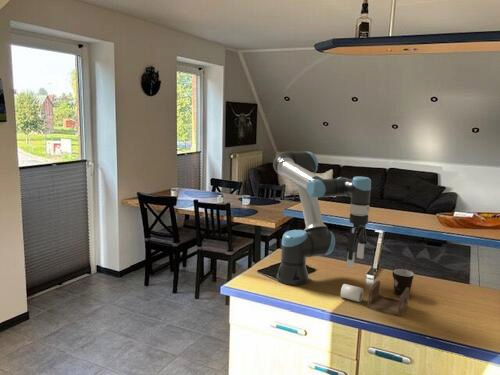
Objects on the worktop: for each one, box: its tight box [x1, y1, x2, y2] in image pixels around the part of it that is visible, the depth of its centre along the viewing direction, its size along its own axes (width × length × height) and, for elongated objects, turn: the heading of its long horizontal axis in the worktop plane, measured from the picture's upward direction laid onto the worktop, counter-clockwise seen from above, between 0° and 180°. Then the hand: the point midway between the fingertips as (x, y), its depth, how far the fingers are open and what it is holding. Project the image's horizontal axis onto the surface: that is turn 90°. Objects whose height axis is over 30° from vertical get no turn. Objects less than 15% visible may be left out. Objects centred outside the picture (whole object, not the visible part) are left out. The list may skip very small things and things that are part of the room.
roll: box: [340, 283, 364, 303], centre depth 181 cm, size 8×6×6 cm
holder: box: [367, 280, 410, 318], centre depth 174 cm, size 14×12×8 cm
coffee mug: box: [392, 268, 415, 297], centre depth 190 cm, size 12×9×10 cm
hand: (355, 262), depth 179 cm, fingers open, 13 cm apart
